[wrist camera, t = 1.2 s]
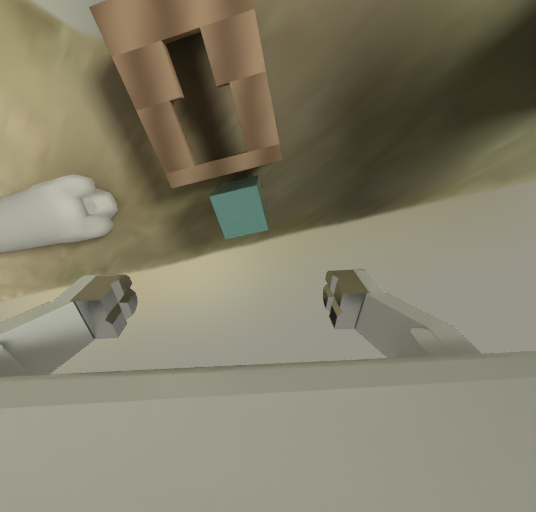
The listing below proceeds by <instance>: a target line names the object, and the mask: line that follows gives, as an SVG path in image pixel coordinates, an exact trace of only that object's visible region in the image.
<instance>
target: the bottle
mask: <svg viewBox="0 0 536 512" xmlns="http://www.w3.org/2000/svg"><path fill="white" fill-rule="evenodd" d="M117 211H118V208H117V203H116V200H115V199H114V197H113V196H112V194H111V193H110V192H107V191H104V190H101V189H98V188H95V183H94V180H93V179H90V178H88V177H85V176H81V175H77V174H70V175H66V176H62V177H59V178H56V179H53V180H49V181H45V182H41V183H37V184H34V185H33V186H31V187H30V188H28V189H26V190H23V191H21V192H18V193H15V194H12V195H9V196H6V197H3V198H0V253H2V252H11V251H17V250H23V249H29V248H34V247H40V246H46V245H52V244H58V243H70V242H79V241H83V240H87V239H92V238H96V237H101V236H104V235H106V234H107V233H109V232H110V231H111V230H112V228H113V227H114V225H115V224H114V223H113V222H112V221H111V219H112V217H113V216H114V215H115V213H116V212H117Z"/></svg>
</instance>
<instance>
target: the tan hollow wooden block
mask: <svg viewBox="0 0 536 512" xmlns="http://www.w3.org/2000/svg"><path fill="white" fill-rule="evenodd" d="M90 10H91V12H92V14H93V17H94V19H95V21H96V23H97V25H98V27H99V30H100V32H101V34H102V36H103V39H104V41H105V43H106V45H107V47H108V50H109V52H110V54H111V56H112V58H113V61H114V63H115V65H116V67H117V69H118V72H119V74H120V76H121V78H122V81H123V83H124V85H125V87H126V89H127V92H128V94H129V96H130V98H131V100H132V103H133V105H134V107H135V109H136V111H137V114H138V116H139V118H140V120H141V122H142V125H143V127H144V129H145V131H146V133H147V136H148V138H149V140H150V142H151V144H152V147H153V149H154V151H155V153H156V155H157V158H158V160H159V162H160V164H161V166H162V169H163V171H164V173H165V175H166V177H167V180H168V182H169V184H170V186H171V188H176V187H179V186H183V185H187V184H191V183H195V182H199V181H203V180H207V179H211V178H215V177H219V176H223V175H227V174H231V173H235V172H239V171H242V170H246V169H250V168H254V167H258V166H262V165H266V164H270V163H274V162H278V161H282V160H283V159H282V154H281V149H280V143H279V138H278V132H277V127H276V122H275V116H274V111H273V106H272V100H271V95H270V90H269V84H268V79H267V74H266V68H265V63H264V57H263V52H262V47H261V41H260V36H259V31H258V25H257V20H256V15H255V9H254V4H253V0H107V1H104V2H101V3H99V4H96V5H93V6H91V7H90ZM199 32H201V33H202V37H203V40H204V44H205V47H206V51H207V54H208V58H209V61H210V65H211V68H212V72H213V76H214V79H215V83H216V86H217V87H218V88H219V87H222V86H226V85H229V84H230V87H231V90H232V94H233V98H234V102H235V106H236V110H237V114H238V118H239V121H240V125H241V129H242V133H243V137H244V141H245V145H246V149H247V152H244V153H240V154H236V155H233V156H229V157H225V158H221V159H218V160H214V161H210V162H206V163H202V164H199V165H196V162H195V159H194V157H193V154H192V151H191V149H190V146H189V143H188V141H187V138H186V135H185V133H184V130H183V127H182V125H181V122H180V119H179V117H178V114H177V111H176V109H175V106H174V103H173V101H176V100H179V99H183V98H184V95H183V92H182V89H181V87H180V84H179V81H178V78H177V75H176V72H175V69H174V67H173V64H172V61H171V58H170V55H169V52H168V50H167V47H166V44H167V43H170V42H173V41H176V40H179V39H182V38H185V37H188V36H190V35H193V34H196V33H199Z"/></svg>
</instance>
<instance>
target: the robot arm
mask: <svg viewBox="0 0 536 512" xmlns="http://www.w3.org/2000/svg"><path fill="white" fill-rule="evenodd" d="M326 281H327V283H328V284H327V285H326V286H325V287H324V290H323V301H324V305H325V307H326V309H327V310H328V311H330V315H329V317H330V319H331V322H332V324H333V327H334V328H335V329H355V330H356V331H357V332H358V333H360V334H361V335H362V336H363V337H364V338H365V339H366V340H368V341H369V342H370V343H371V344H372V345H373V346H374V347H376V348H377V349H378V350H379V351H380V352H381V353H383V354H384V355H385V356H386V357H387V358H380V359H360V360H341V361H320V362H298V363H279V364H258V365H257V364H256V365H235V366H217V367H216V366H215V367H195V368H174V369H154V370H134V371H113V372H93V373H72V374H53V375H49V374H50V373H51V372H53V371H54V370H55V369H57V368H58V367H59V366H61V365H62V364H63V363H65V362H66V361H67V360H68V359H70V358H71V357H72V356H74V355H75V354H76V353H78V352H79V351H80V350H82V349H83V348H84V347H86V346H87V345H88V344H89V343H91V342H92V341H94V339H99V338H100V339H101V338H115V337H119V335H120V334H121V332H122V331H123V329H124V328H125V326H126V324H127V322H126V319H127V318H129V317H130V316H132V315H133V313H134V311H135V310H136V306H137V296H136V293H135V292H134V291H133V290H132V289H130V287H131V285H132V282H131V280H130V277H128V276H127V275H86V276H82V277H81V278H80V279H79V280H77V281H76V282H75V283H74V284H73V285H72V286H70V287H69V288H68V289H67V290H66V291H65V292H64V293H62V294H61V295H60V296H59V297H58V298H57V299H55V300H54V301H53V302H47V303H45V304H42V305H40V306H38V307H36V308H33V309H31V310H29V311H26V312H24V313H22V314H19V315H17V316H15V317H12V318H10V319H8V320H6V321H3V322H1V323H0V512H536V351H523V352H503V353H480V351H479V350H477V349H476V347H474V346H473V345H472V344H471V343H470V342H469V341H468V340H467V339H466V338H465V337H464V336H463V335H462V334H461V333H460V332H459V331H458V330H457V329H456V328H455V327H454V326H452V325H450V324H448V323H447V322H444V321H443V320H441V319H438V318H437V317H434V316H433V315H430V314H429V313H427V312H425V311H423V310H421V309H418V308H417V307H415V306H413V305H411V304H409V303H407V302H405V301H403V300H401V299H399V298H396V297H394V296H392V295H390V294H389V293H383V292H382V290H380V288H379V287H378V286H377V284H376V283H375V282H374V281H373V279H372V278H371V277H370V276H369V275H368V274H367V272H366V271H365V270H363V269H357V270H340V271H328V272H327V274H326Z"/></svg>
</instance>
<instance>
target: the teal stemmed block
mask: <svg viewBox="0 0 536 512" xmlns="http://www.w3.org/2000/svg"><path fill="white" fill-rule="evenodd" d="M210 200H211V203H212V205H213V208H214V211H215V213H216V216H217V219H218V221H219V224H220V227H221V229H222V232H223V235H224V237H225V240H226V239H230V238H235V237H239V236H244V235H248V234H253V233H258V232H262V231H267V230H268V211H267V207H266V203H265V199H264V195H263V191H262V185H261V182H260V179H259V175H257V176H254V175H251V174H243V175H241V176H239V177H238V178H237V179H236V180H235V181H233V182H229V183H225V184H221V185H218V187H217V188H216V189H215V190H214V192H213V193H212V194H211V195H210Z"/></svg>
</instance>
